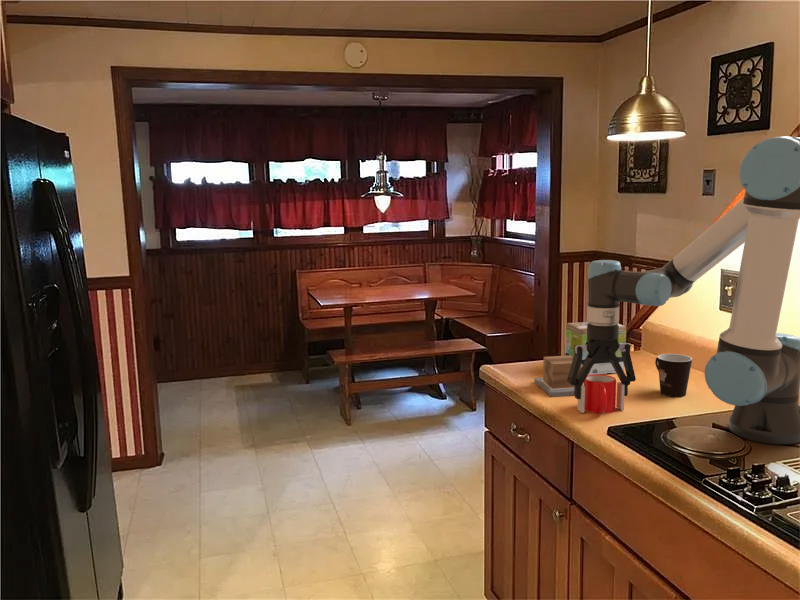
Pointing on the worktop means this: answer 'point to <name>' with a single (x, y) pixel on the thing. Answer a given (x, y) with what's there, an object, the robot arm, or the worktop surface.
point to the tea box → (578, 336)
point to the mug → (600, 393)
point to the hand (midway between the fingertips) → (600, 409)
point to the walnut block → (557, 371)
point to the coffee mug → (673, 374)
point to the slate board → (554, 392)
